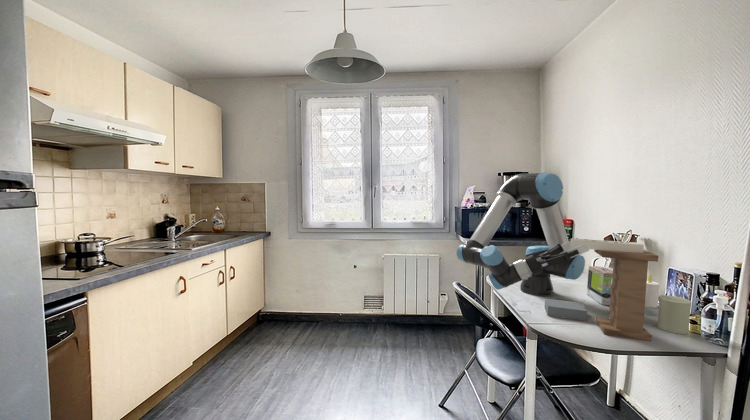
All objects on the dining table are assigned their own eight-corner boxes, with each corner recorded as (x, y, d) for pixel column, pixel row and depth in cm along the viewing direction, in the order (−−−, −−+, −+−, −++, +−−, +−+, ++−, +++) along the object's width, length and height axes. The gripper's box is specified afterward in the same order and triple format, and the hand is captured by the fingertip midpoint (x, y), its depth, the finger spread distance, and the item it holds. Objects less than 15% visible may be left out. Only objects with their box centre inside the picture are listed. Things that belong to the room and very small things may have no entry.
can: (650, 323, 133) (652, 293, 132) (672, 323, 133) (674, 293, 133) (672, 334, 124) (675, 302, 123) (696, 334, 124) (698, 302, 123)
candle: (659, 305, 154) (662, 273, 152) (655, 308, 150) (658, 275, 148) (642, 301, 159) (644, 270, 157) (637, 304, 154) (640, 272, 153)
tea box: (625, 306, 152) (628, 274, 151) (601, 305, 153) (603, 272, 152) (608, 295, 167) (610, 266, 165) (585, 294, 168) (587, 265, 167)
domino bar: (570, 246, 132) (570, 238, 131) (638, 250, 124) (639, 242, 124) (572, 248, 128) (573, 239, 127) (643, 253, 120) (644, 244, 120)
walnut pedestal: (589, 321, 134) (594, 246, 132) (638, 327, 129) (644, 249, 127) (597, 333, 123) (603, 251, 121) (651, 341, 118) (658, 255, 115)
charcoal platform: (544, 307, 149) (544, 298, 149) (581, 312, 144) (581, 302, 144) (547, 315, 140) (547, 306, 139) (586, 320, 135) (587, 311, 134)
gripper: (530, 268, 146) (581, 247, 139) (535, 284, 123) (596, 259, 116) (521, 252, 147) (571, 230, 140) (525, 265, 124) (585, 240, 116)
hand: (583, 243), depth 128 cm, fingers open, 13 cm apart
